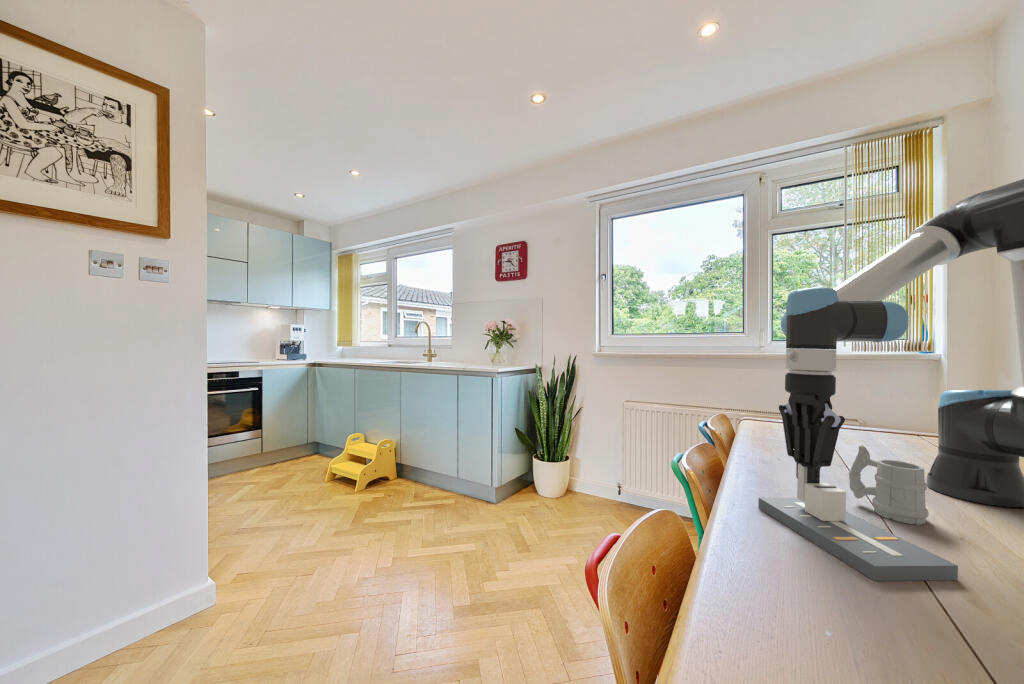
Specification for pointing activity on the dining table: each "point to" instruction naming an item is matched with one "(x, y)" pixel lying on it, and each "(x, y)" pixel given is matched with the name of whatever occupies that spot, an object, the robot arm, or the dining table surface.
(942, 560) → the console
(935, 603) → the dining table surface
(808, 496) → the fader tab
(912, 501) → the mug
